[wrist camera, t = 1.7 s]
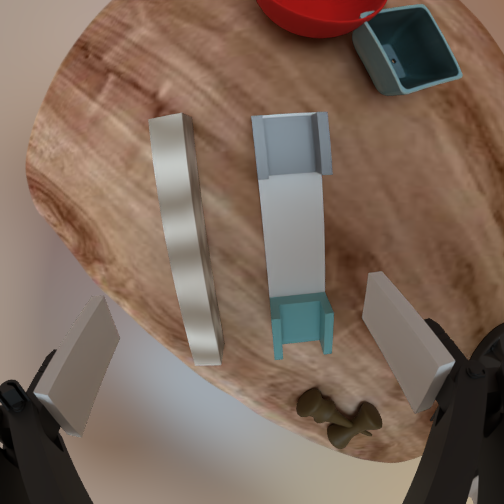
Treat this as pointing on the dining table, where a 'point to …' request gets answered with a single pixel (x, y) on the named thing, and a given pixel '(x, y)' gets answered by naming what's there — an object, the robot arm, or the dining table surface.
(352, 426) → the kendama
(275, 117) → the long grey teal holder
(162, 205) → the grey white bar
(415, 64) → the flower pot
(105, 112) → the dining table surface
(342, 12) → the ceramic cup
